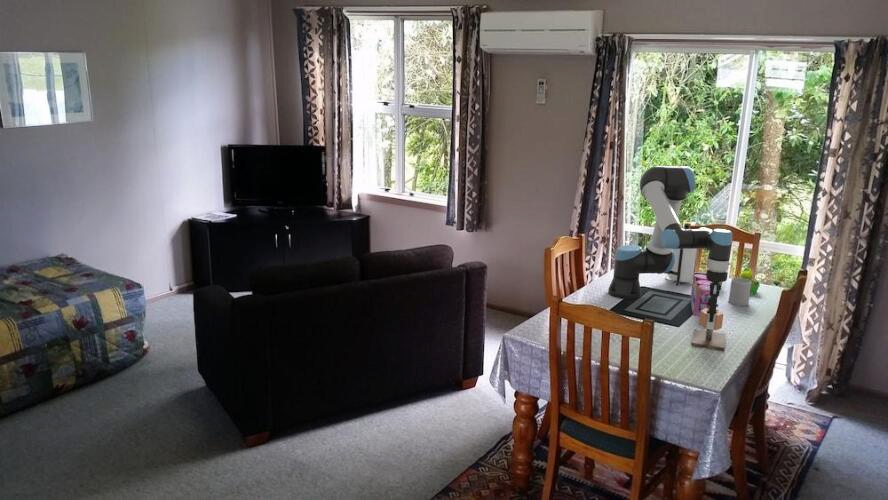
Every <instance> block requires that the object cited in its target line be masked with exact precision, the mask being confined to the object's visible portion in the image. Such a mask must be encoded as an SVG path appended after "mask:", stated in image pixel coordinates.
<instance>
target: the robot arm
mask: <svg viewBox="0 0 888 500" xmlns="http://www.w3.org/2000/svg"><path fill="white" fill-rule="evenodd" d="M695 188H696V176H695V172H694V170H693V169H692V168H691V167H690V166H685V165H684V166H682V165H677V166H675V165H655V166H652V167H649V168H648V169H647V170H645V172H644V173H643V174H642V175H641V177H640V180H639V190H640V193H641V195H642V197H644V198H645V199H646V200H647V202H648V204H649V205H650V207H651V210H652V212H653V214H654V217H655V218H656V220H655V224H654V228H653V232H652V236H651V240H650V241H649V242H647V243H646V247H645V248H643V247H642V246H640V245H637V244H625V245H621V246H619V247H618V248H617V249H616V250H615V256H614V267H613V268H614V269H613V277H612V280H611V282H610V285H609V287H608V291H607V294H608V295H609V296H611V297H612V298H616V299H622V300H637V299H640V298H641V297H642V288H641V284H640V274H642V275H643V274H657V275H660V274H665V273H668V272H669V271H671V269H672V268H673V266H674V262H675V259H674V258H675V254H674V252H673V250H672V249H688V248H690V249H699V250H700V249H706V250H707V251H708V259H707V264H706V265H707V266H706V267H707V269H706V278H707V279H708V280H711V281H712V283H710V296H711V298H710V304H709V305H710V306H709V311H708V312H707V313H708V319H707V327H706V330H707V329H711V330H713V331H715V330H714V324H715V316H716V310H717V308H718V307H719V304H718V298H719V296H720V293H721V292H720V291H721V289H722V286H721V284H719V283H720V282H722V283H723V282H726V281H727V280H728V274H729V272H728V270H729V266H731V262H730V259H731V254H732V253H731V251H732V245H733V232H732V231H731V230H727V229H723V228H715V229H712V228H709V227H699V228H698V229H697V228H696V229H693V230H685V229H683V228H684V227H683V226H682V224H681V221H680V220H679V218H678V216H679V214H680V213H679V212H680V208H681V205H682V202H683V201H685V200H686V199H687V198H688V194H692V193H693V192H694V191H695ZM711 310H712V311H711Z"/></svg>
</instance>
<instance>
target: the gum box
mask: <svg viewBox="0 0 888 500" xmlns="http://www.w3.org/2000/svg"><path fill="white" fill-rule="evenodd" d="M706 274H707V272H705V273H704V272H696V271H695V272H694V274H693V280H692V283H691V290H690V291H691V293H690V305H691V310H692V314H693V316H695V317H700V312H701V310H703V309H706V308H708V309H709V306H710V305H709V304H710V298H711V296H710V283H712V281H711V280H708V279H707V278H706Z"/></svg>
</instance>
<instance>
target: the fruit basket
mask: <svg viewBox="0 0 888 500" xmlns="http://www.w3.org/2000/svg"><path fill="white" fill-rule="evenodd" d="M753 277H754V275H753V271H752V269H751V268H749V267H744V269H743V271H742V272H741V273H740V278H745V279H748V280H750V281H751V289H750V294H751V295H756V294H757V292H758V290H759V288H760V286H761V284H760V281H759V280H754V279H753Z"/></svg>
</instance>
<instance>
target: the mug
mask: <svg viewBox="0 0 888 500" xmlns="http://www.w3.org/2000/svg"><path fill="white" fill-rule="evenodd" d="M750 289H751V281H750V280H748V279H745V278H741V277H733V278H731V281H730V288H729V297H728V303H729V304H731V305H734V306H739V307H746V306H748V305H749V303H750V294H751V293H750Z"/></svg>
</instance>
